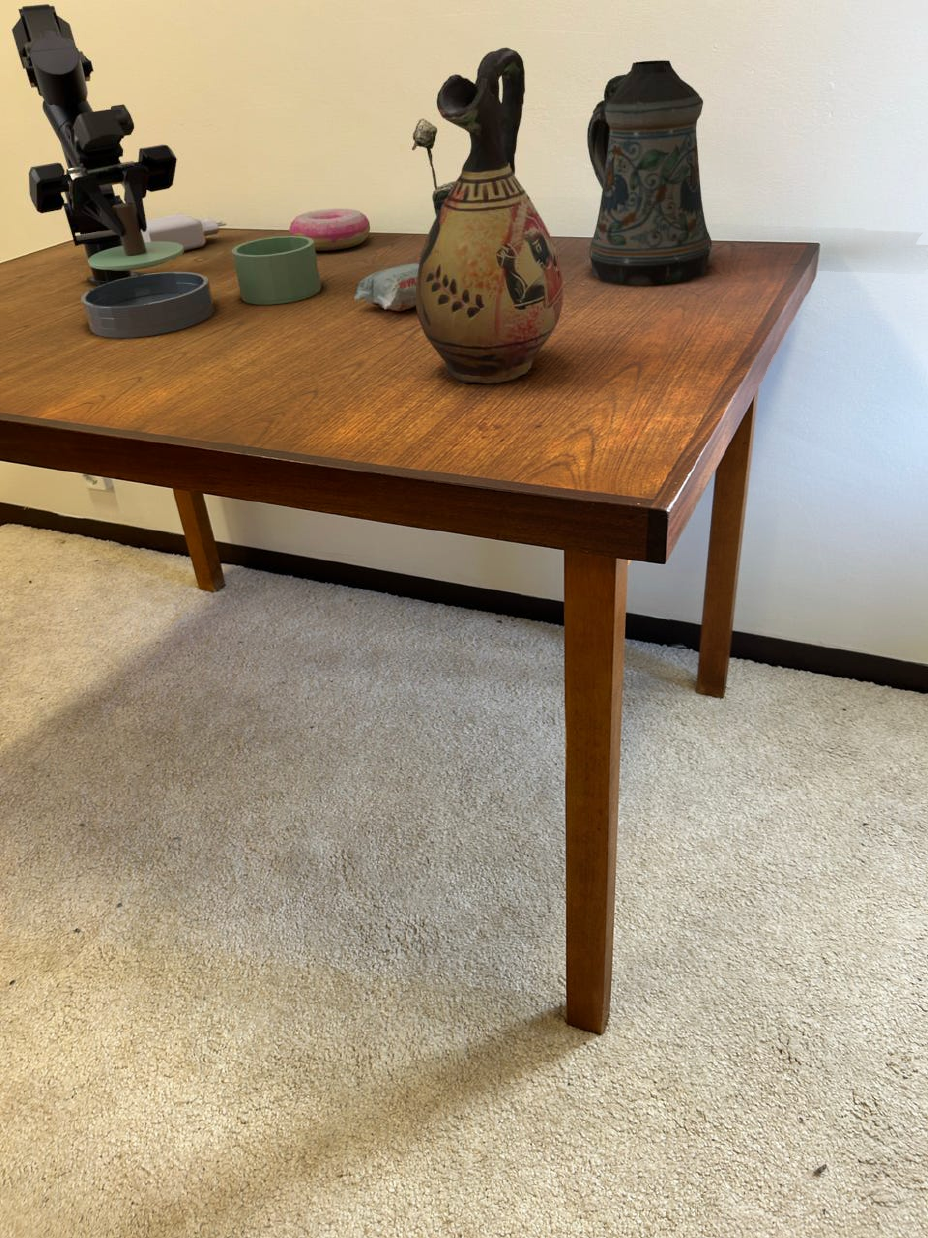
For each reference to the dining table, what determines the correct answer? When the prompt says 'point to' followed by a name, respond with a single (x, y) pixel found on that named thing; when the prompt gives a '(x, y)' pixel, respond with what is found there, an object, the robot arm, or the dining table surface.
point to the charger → (180, 230)
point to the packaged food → (390, 288)
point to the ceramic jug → (488, 240)
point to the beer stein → (648, 179)
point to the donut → (332, 228)
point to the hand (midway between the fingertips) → (133, 231)
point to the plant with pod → (426, 139)
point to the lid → (134, 246)
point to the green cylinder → (277, 270)
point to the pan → (148, 304)
